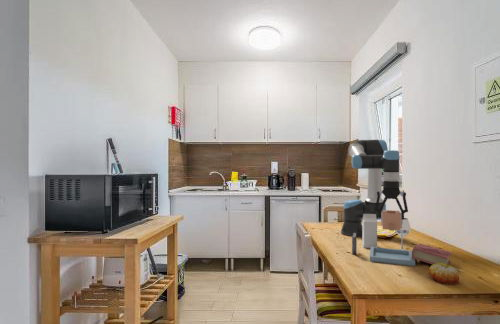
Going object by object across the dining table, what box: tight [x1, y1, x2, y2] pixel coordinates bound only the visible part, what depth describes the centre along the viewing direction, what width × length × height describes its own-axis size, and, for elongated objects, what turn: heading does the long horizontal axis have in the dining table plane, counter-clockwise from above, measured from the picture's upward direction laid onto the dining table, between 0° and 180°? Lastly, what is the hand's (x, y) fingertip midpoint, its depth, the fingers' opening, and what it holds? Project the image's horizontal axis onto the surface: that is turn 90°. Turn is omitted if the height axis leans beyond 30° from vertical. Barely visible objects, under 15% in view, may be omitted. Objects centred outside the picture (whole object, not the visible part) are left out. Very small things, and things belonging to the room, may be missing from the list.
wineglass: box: [394, 217, 412, 250], centre depth 177 cm, size 8×8×18 cm
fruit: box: [428, 263, 460, 285], centre depth 132 cm, size 11×10×8 cm
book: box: [411, 243, 453, 266], centre depth 156 cm, size 14×15×5 cm
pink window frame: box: [382, 209, 401, 232], centre depth 162 cm, size 14×8×8 cm, turn 158°
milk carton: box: [361, 214, 378, 249], centre depth 186 cm, size 7×7×19 cm
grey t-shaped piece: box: [351, 233, 358, 256], centre depth 170 cm, size 5×2×11 cm, turn 158°
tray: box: [369, 246, 416, 267], centre depth 163 cm, size 20×20×2 cm
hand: (391, 225), depth 163 cm, fingers closed on pink window frame, 8 cm apart
